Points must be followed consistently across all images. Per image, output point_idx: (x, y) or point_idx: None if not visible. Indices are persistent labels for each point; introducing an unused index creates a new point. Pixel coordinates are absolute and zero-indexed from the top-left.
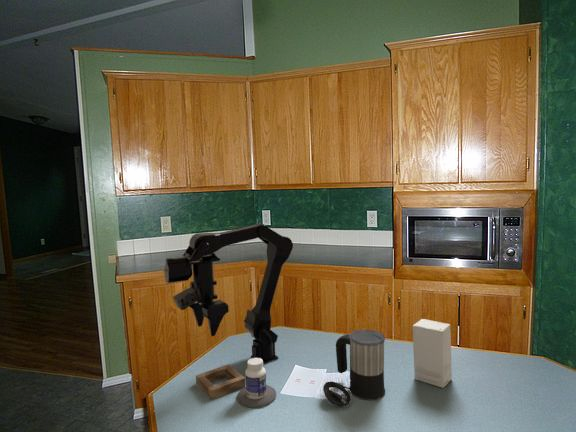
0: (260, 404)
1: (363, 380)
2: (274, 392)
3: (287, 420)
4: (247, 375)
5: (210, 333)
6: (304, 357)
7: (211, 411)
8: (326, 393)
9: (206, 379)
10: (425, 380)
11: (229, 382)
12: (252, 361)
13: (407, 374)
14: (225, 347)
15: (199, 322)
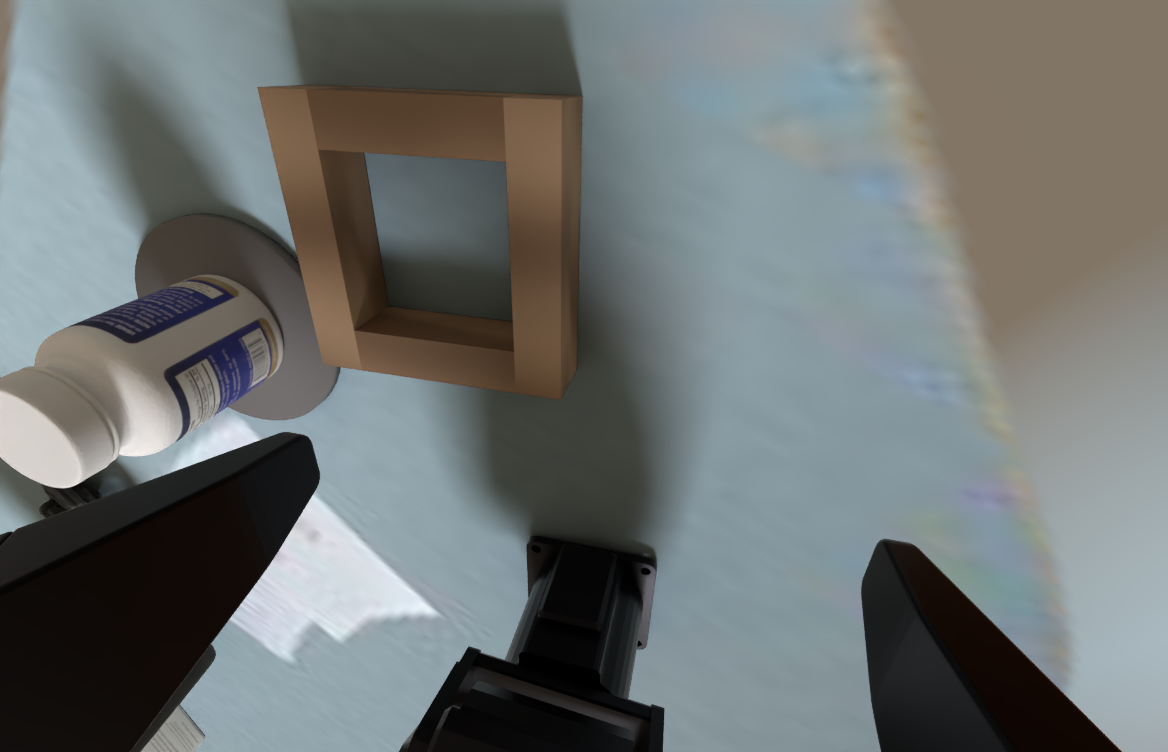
0: (141, 284)
1: None
2: None
3: (32, 301)
4: (69, 329)
5: (266, 451)
6: None
7: (185, 16)
8: (63, 502)
9: (435, 146)
10: None
11: (313, 261)
12: (24, 426)
13: (202, 708)
14: (951, 567)
15: (896, 628)
